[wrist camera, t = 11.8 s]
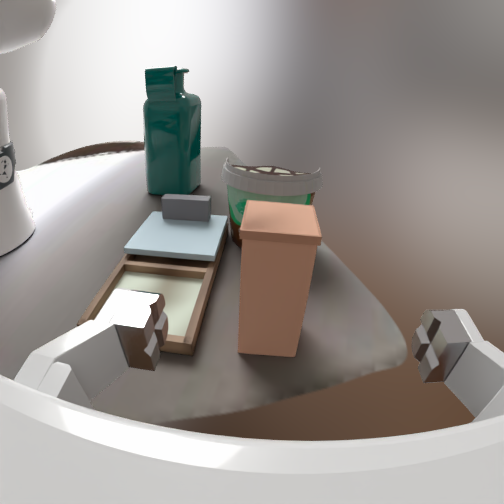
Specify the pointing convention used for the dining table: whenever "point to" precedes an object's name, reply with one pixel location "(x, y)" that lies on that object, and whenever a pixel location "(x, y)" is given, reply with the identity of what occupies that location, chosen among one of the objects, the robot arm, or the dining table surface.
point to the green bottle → (171, 133)
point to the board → (166, 292)
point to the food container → (265, 189)
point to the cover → (180, 230)
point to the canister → (275, 275)
